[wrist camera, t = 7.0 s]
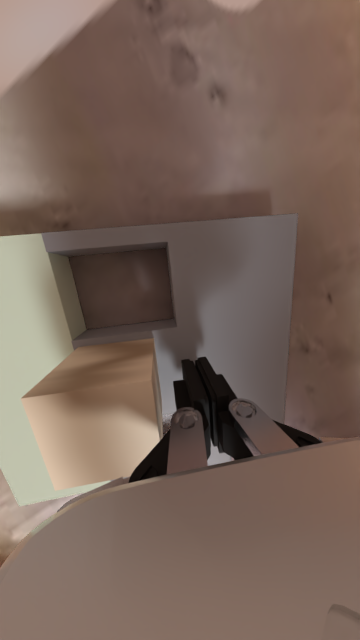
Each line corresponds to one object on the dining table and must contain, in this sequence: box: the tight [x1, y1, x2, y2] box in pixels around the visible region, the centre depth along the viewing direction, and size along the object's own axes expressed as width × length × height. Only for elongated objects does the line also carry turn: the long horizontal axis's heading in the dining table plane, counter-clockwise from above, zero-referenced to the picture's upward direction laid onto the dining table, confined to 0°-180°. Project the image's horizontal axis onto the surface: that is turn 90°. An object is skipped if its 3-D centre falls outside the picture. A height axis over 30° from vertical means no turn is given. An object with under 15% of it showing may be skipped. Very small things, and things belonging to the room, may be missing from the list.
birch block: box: [21, 338, 163, 491], centre depth 10 cm, size 5×5×5 cm
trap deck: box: [0, 213, 298, 506], centre depth 14 cm, size 23×20×2 cm
